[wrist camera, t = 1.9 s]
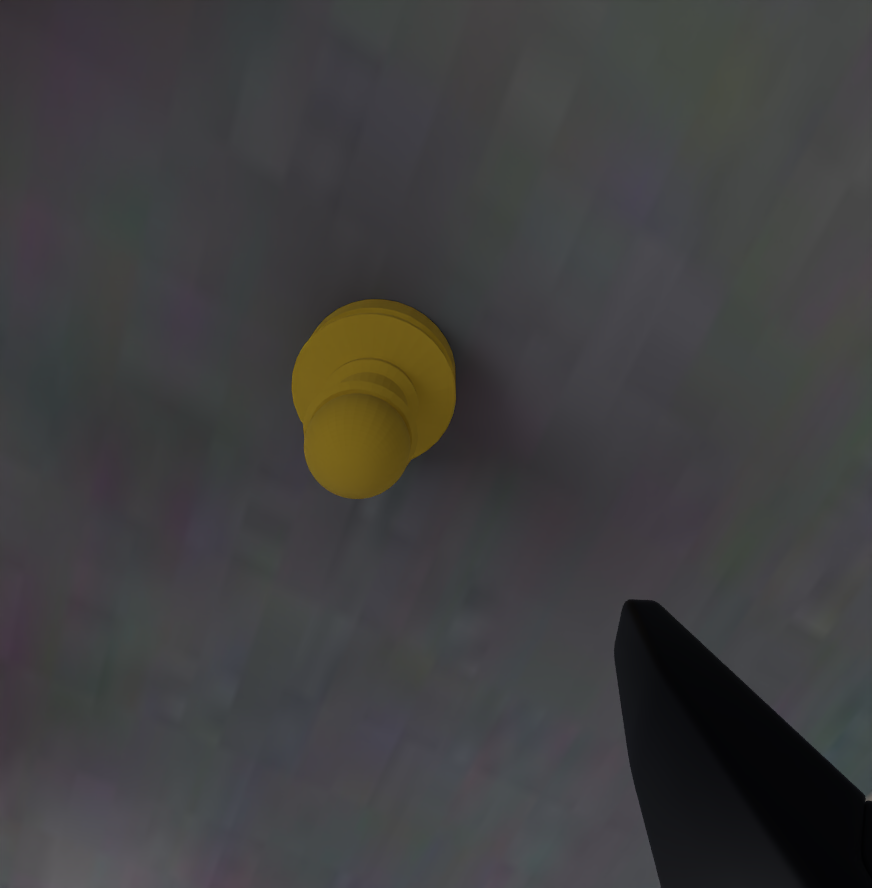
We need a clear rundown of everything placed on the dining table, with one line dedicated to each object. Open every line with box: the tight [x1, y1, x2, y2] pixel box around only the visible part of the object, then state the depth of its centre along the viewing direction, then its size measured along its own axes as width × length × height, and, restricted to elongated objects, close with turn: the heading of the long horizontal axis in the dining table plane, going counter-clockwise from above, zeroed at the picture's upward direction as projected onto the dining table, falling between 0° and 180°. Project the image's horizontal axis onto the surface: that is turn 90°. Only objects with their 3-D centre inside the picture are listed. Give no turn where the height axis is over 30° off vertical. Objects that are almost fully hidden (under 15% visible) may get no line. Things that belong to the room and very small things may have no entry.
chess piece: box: [292, 299, 456, 499], centre depth 15 cm, size 4×4×5 cm
